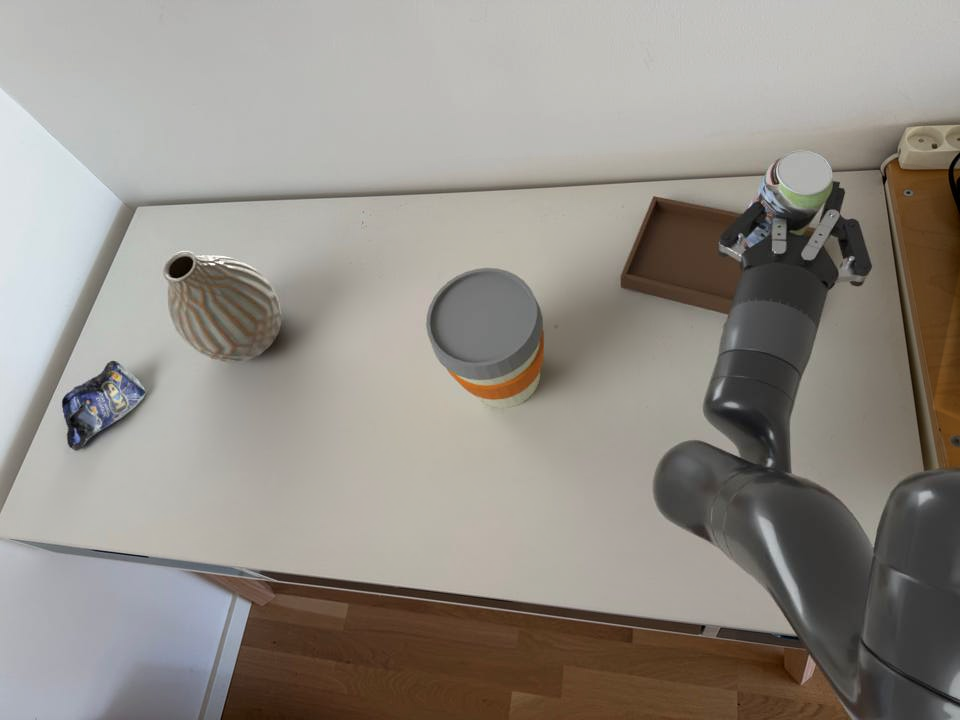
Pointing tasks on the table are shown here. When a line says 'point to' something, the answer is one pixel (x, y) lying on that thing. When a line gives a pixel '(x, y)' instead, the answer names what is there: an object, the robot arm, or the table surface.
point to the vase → (221, 306)
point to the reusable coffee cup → (489, 335)
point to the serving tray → (684, 255)
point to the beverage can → (792, 192)
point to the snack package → (100, 403)
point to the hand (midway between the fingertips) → (812, 184)
